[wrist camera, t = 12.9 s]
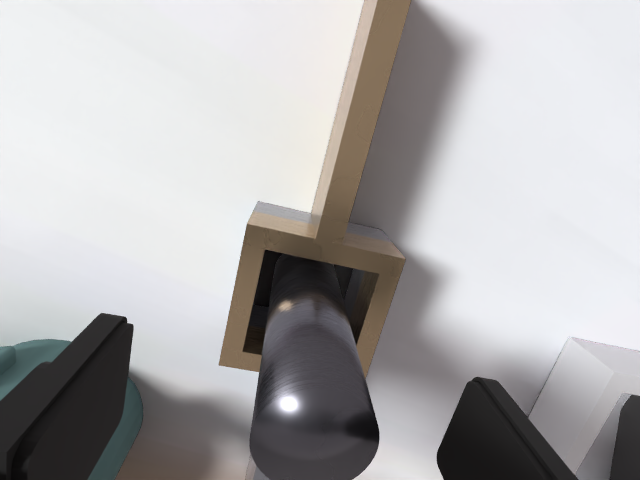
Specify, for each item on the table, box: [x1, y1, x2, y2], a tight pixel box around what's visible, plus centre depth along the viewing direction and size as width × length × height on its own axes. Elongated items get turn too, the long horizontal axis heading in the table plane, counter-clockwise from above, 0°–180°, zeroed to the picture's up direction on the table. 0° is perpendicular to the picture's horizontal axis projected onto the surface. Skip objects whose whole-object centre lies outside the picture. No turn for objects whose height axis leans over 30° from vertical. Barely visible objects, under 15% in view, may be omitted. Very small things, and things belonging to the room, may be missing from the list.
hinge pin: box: [250, 253, 379, 480], centre depth 13 cm, size 3×3×10 cm
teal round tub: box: [0, 339, 143, 480], centre depth 15 cm, size 9×9×9 cm
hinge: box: [219, 0, 411, 480], centre depth 16 cm, size 26×6×4 cm, turn 166°
